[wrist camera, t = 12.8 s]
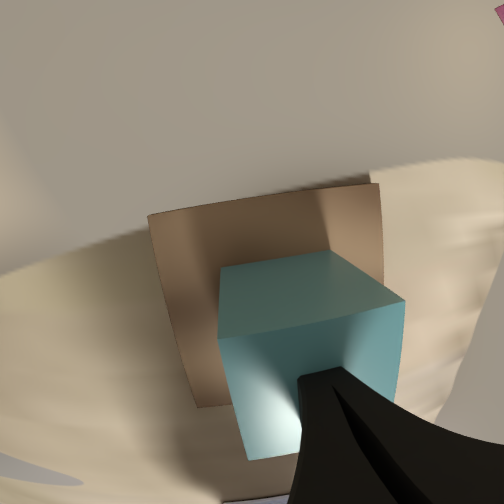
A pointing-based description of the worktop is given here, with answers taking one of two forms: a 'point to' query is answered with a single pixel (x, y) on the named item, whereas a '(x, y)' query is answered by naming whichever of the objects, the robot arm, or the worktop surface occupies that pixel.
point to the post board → (252, 259)
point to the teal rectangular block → (301, 339)
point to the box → (500, 12)
